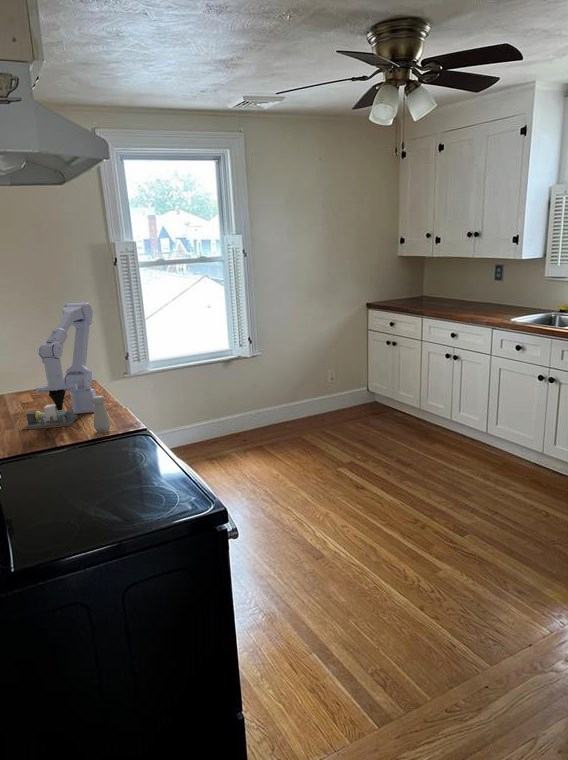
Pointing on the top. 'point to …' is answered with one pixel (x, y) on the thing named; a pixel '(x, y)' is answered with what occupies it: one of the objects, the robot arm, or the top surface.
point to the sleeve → (51, 412)
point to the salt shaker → (100, 415)
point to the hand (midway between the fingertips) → (60, 409)
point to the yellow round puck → (37, 415)
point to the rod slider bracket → (64, 419)
